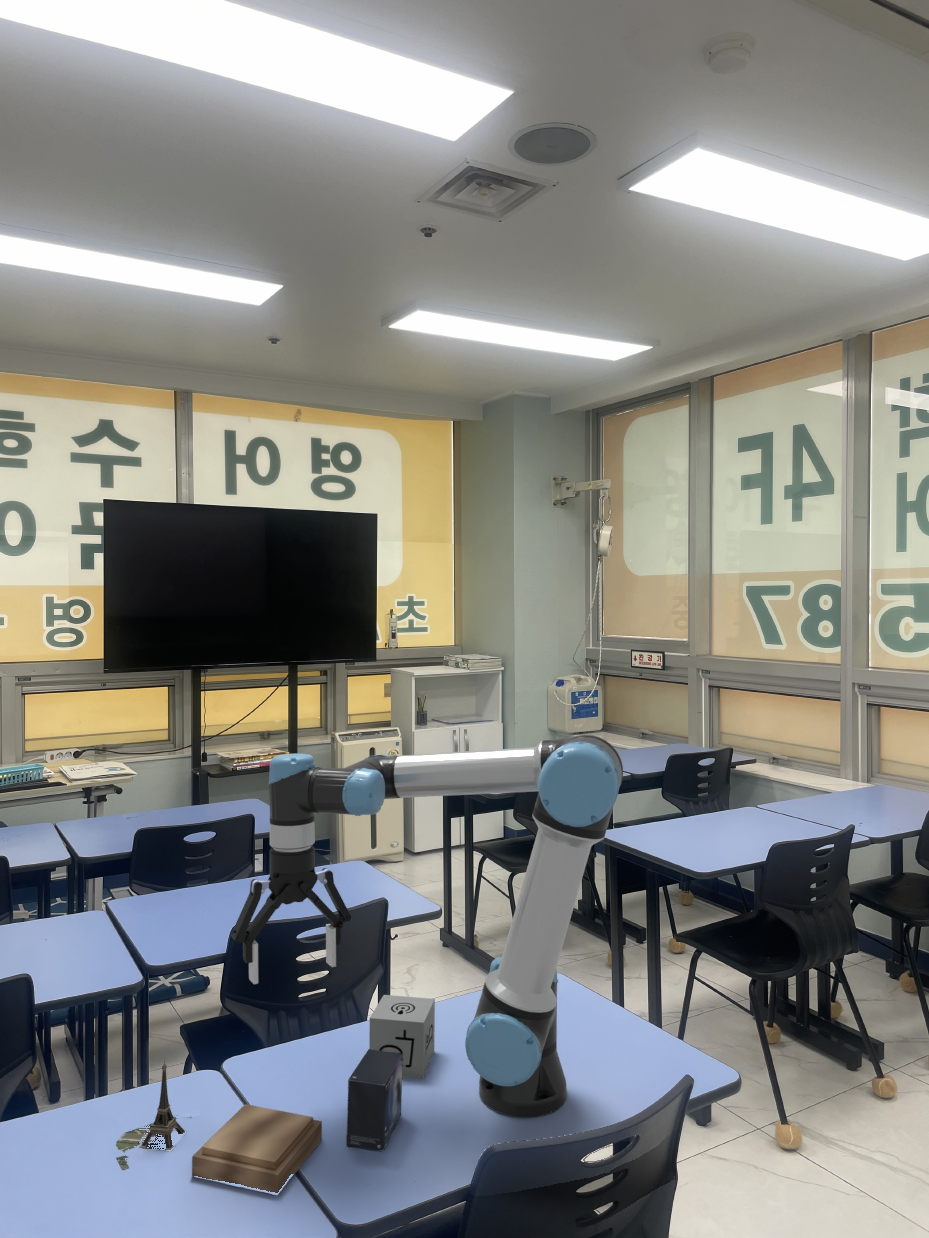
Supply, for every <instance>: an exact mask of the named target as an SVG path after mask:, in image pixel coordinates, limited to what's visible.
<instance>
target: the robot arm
mask: <svg viewBox="0 0 929 1238" xmlns="http://www.w3.org/2000/svg"><path fill="white" fill-rule="evenodd" d="M623 776H624V765H623V761H622V758H621V756H620V753H619V752H618V751H617V749H616V748H615V746H613V745H612V744H611V742H608V741H607V740H606V739H605V738H602V737H600V736H596V735H592V734H581V735H579V734H578V735H575V736H571V737H564V738H558V739H549V740H545V739H544V740H540V741H539V743H538V744H536V745H535V746H532V747H531V746H529V747H515V748H500V749H498V748H497V749H485V750H484V749H483V750H468V751H467V750H466V751H455V752H454V751H451V752H450V751H449V752H438V753H437V752H436V753H422V754H421V753H419V754H408V755H407V754H405V755H392V756H391V755H387V754H373V755H369V756H368V757H365V758H364V759H362V760H360V761H358V762H356V763H353V764H350V765H348V766H346V767H319V766H316V763H315V759H314V757H313V755H311V754H309V753H286V754H279V755H275V756H274V757H273V758H271V759H270V762H269V775H268V780H269V781H268V783H267V784H268V788H269V790H268V792H269V794H268V795H269V798H268V799H269V846H270V847H272V848H270V849H269V876H268V879H267V880H258V879H257V878H254V879H252V880H251V881H250V885H249V887H250V888H249V893H248V896H247V898H246V900H245V903H244V904H243V907H242V910H240V913H239V916H238V918H237V920H236V922H235V925H234V927H233V930H232V931H231V933H230V935H231V938H232V939H233V940H234V941H235V942H236V943H242V958H243V961H244V962H245V963H246V964H248V979H249V981H250V982H251V983H252V984H253V985H257V984H259V943H258V942H257V941H256V938H257V937H258V936H259V934H260V933H261V932H262V930H263V929H264V927H265V926H266V925H267V923H268V921H269V920H270V919H271V917H272V916H273V915H274V913H275V912H276V910H278V909H279V908H281V906H282V904H285V905H290V904H294V903H302V902H304V901H305V900H306V899H308V900H309V901H310V902H311V903H312V904H313V905H314V906H315V907H316V908H317V910H318V911H319V913H321V914H323V916H324V917H325V918H326V919H327V920H328V921H329V922H330V923H328V924H327V923H326V924H325V962H326V964H328V966H329V967H331V968H334V967H337V946H339V945H340V944H341V939H342V938H341V931H342V928H343V926H344V923H347V922H350V921H351V920H352V915H351V913H350V911H349V909H348V907H347V906H346V904H345V902H344V899H343V897H342V896H341V893H340V892H339V890H338V888H337V887H336V884H335V881H334V873H333V871H331V870H330V869H328V867H327V868H326V867H323V868H322V869H321V870H320V871H318V872H317V871H316V870H315V869H316V851H315V849H316V848H315V847H314V846H313V845H314V844H315V842H316V839H315V838H316V833H315V831H316V829H315V813H316V814H332V815H333V814H334V815H347V816H348V815H352V816H355V817H360V816H364V815H365V816H373V815H376V814H378V813H379V812H380V811H381V809H382V807H383V805H384V802H385V800H389V799H390V800H392V799H393V800H395V799H402V798H423V797H424V798H425V797H444V796H447V797H448V796H463V795H464V796H467V795H469V796H470V795H487V794H506V793H507V794H508V793H511V794H512V793H527V792H529V793H531V792H538V793H537V797H536V800H535V803H534V808H533V810H532V814H531V815H532V819H533V820H534V822H535V824H536V825H537V828H538V829H537V833H536V837H535V838H534V839H535V840H534V843H533V845H532V847H533V848H532V850H531V853H530V857H529V862H528V865H527V868H526V872H525V875H524V878H523V882H522V885H521V889H520V893H519V896H518V898H517V903H516V906H515V910H514V914H513V916H512V921H511V924H510V928H509V930H508V935H507V938H506V942H505V946H504V949H503V953H502V956H500V957H496V958H494V959H493V960H492V961H491V964H490V970H489V972H488V974H487V975H486V977H485V980H484V983H483V987H482V991H481V994H480V996H479V997H480V998H479V1001H478V1005H477V1007H476V1012H475V1014H474V1017H473V1020H472V1021H471V1022H470V1024H469V1025H468V1028H467V1031H466V1036H465V1045H464V1046H465V1053H466V1056H467V1060H468V1061H469V1062H470V1064H471V1066H472V1068H473V1070H474V1071H475V1072H476V1073H477V1074H478V1075H479V1079H478V1080H479V1081H478V1082H479V1083H478V1086H479V1087H478V1095H479V1098H480V1099H481V1101H482V1102H483V1104H485V1105H486V1106H487V1107H489V1109H491V1110H493V1111H495V1112H497V1113H500V1114H503V1115H505V1116H511V1117H518V1118H536V1117H543V1116H546V1115H549V1114H552V1113H554V1112H556V1111H557V1109H558V1110H559V1109H561V1107H562V1106H564V1104H565V1102H566V1100H567V1079H566V1077H565V1073H564V1069H563V1067H562V1063H561V1059H560V1057H559V1053H558V1047H557V1045H558V1044H557V1041H558V1037H557V1035H558V1029H557V1028H558V1027H557V1026H558V1024H557V1023H558V984H559V979H558V971H557V966H558V963H559V960H560V957H561V953H562V950H563V945H564V943H565V939H566V935H567V933H568V928H569V926H570V921H571V917H572V915H573V911H574V907H575V905H576V900H577V898H578V894H579V891H580V886H581V884H582V880H583V876H584V874H585V869H586V866H587V863H588V859H589V855H590V852H591V849H592V846H593V845H595V844H597V843H600V842H601V841H604V840H605V836H606V832H607V830H608V827H609V824H610V818H611V816H612V813H613V808H614V805H615V803H616V801H617V798H618V795H619V790H620V787H621V785H622V782H623ZM318 881H319V882H320V883H321V884H323V887H324V888H325V890H326V892H327V894H328V896H329V898H330V899H331V902H332V904H333V907H334V908H335V909H336V912H337V913H338V914H337V915H336V914H335V913H334V912H333V911H332V910H331V909H330V908H329V907H328V906H327V905H326V903H325V902H324V901H323V900H322V899H321V898H320V896H318V895H317V893H316V892H315V891H314V890H313V888H314V887H315V885H316V884H317V882H318ZM267 889H269V891H270V892H271V893H270V894H269V896H268V897H267V898H266V900H265V902H264V904H263V905H262V907H261V909H260V910H259V911H258V913H257V914H256V916H255V917H254V918H253V916H254V914H255V912H256V909H257V907H258V905H259V903H260V900H261V898H262V895H264V894H265V891H266V890H267ZM555 1110H556V1111H555Z"/></svg>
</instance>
